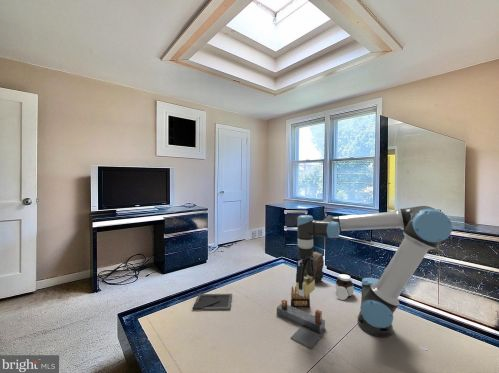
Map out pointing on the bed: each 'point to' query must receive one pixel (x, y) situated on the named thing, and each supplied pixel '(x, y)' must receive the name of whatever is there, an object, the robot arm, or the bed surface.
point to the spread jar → (344, 287)
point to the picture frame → (213, 302)
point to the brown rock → (317, 267)
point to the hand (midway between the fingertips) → (305, 291)
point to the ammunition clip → (299, 300)
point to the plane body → (302, 317)
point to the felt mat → (306, 337)
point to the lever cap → (307, 285)
